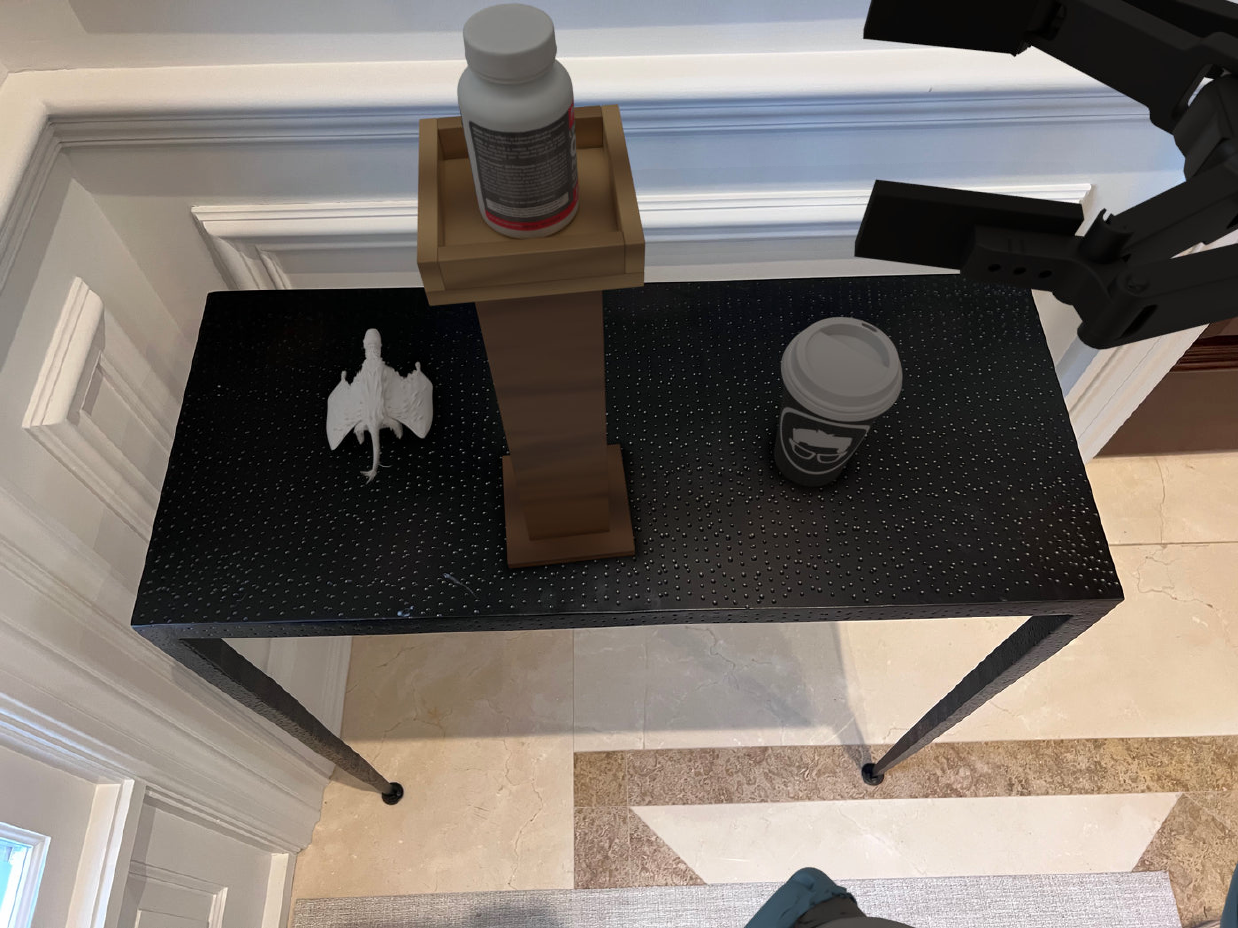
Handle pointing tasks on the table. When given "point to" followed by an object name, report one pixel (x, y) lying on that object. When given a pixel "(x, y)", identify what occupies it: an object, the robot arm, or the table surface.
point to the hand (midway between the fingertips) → (867, 98)
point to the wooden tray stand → (542, 333)
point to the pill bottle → (518, 122)
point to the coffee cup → (832, 396)
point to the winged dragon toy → (379, 401)
